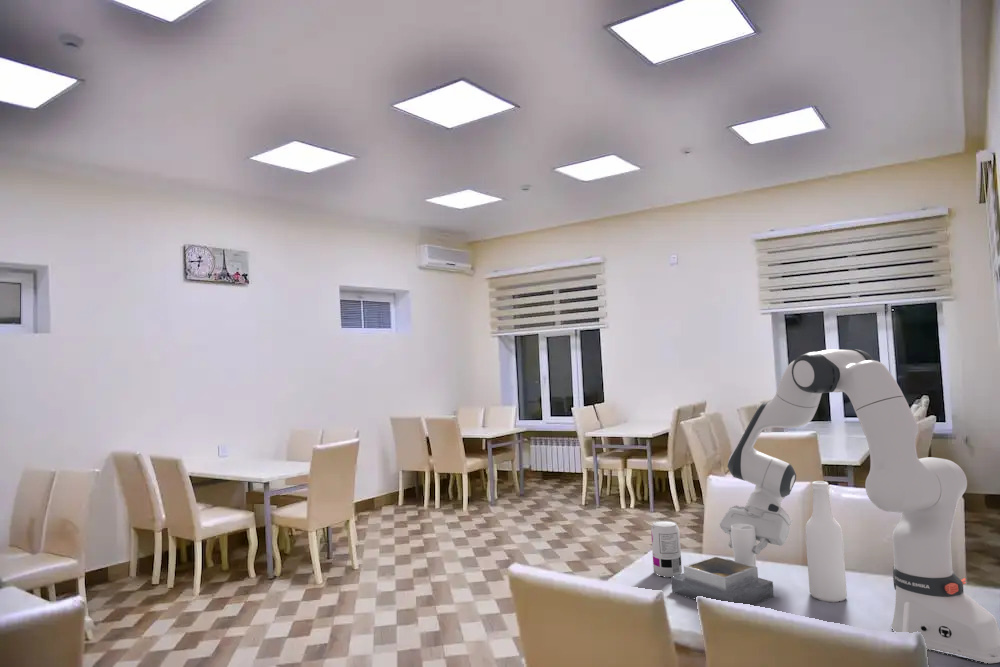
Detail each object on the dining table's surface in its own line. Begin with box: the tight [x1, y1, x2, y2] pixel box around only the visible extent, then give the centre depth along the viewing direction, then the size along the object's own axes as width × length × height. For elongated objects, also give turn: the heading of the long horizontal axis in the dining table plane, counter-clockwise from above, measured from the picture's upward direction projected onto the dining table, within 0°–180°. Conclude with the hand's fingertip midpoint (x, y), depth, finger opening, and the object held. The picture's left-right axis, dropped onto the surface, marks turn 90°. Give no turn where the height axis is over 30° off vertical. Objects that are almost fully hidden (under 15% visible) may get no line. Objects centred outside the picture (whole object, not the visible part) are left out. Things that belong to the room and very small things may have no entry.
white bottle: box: [804, 480, 848, 603], centre depth 170 cm, size 9×9×30 cm
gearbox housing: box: [670, 555, 775, 606], centre depth 175 cm, size 20×17×8 cm
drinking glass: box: [731, 524, 757, 567], centre depth 186 cm, size 7×7×15 cm
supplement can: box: [650, 520, 683, 578], centre depth 194 cm, size 8×8×15 cm
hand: (743, 550), depth 186 cm, fingers closed on drinking glass, 6 cm apart
